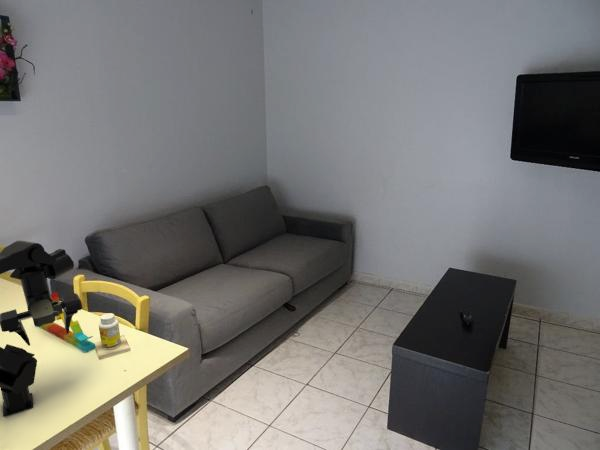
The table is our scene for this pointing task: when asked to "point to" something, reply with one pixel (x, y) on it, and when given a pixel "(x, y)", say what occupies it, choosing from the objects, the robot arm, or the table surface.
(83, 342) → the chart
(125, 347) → the wooden pad
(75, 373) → the table surface
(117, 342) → the supplement bottle
